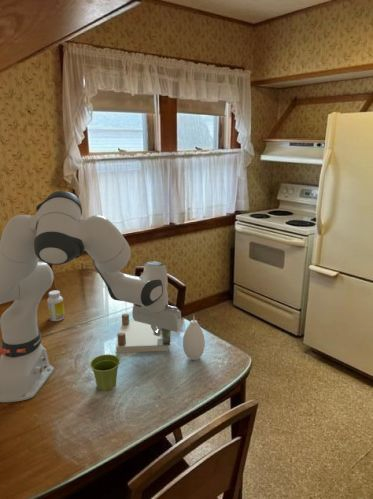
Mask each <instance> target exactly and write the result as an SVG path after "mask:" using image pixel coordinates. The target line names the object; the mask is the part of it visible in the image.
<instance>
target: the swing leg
mask: <svg viewBox="0 0 373 499" xmlns="http://www.w3.org/2000/svg"><path fill="white" fill-rule="evenodd" d="M161 332H162V334H163V342H164V343H169V342H170V343H171V330H167V329H164V328H162V330H161Z"/></svg>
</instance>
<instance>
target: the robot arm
mask: <svg viewBox="0 0 373 499" xmlns="http://www.w3.org/2000/svg"><path fill="white" fill-rule="evenodd" d="M35 209H36V213H35V214H33V215H29V214H17V215H15V216H12V218H10V219H9V220H8V221H7V222H6V225H5V227H4V229H3V231H2V233H1V236H0V305H1V304H2V305H3V304H6V303H9V302H12V301H13V303H12V304H11V305H10V306H9V307H8V308H7V309H5V311H4V312H3V313H2V314H1V316H0V329H1V330H0V331H1V336H2V339H1V343H0V344H1V345H0V403H14V402H16V403H17V402H20V401H21V402H22V401H25V400H29V399H31V398H34V397H35V396H36V395H37V394H38V392H39V391H40V389H41V388H42V387H43V386H44V384H45V383H46V382H47V380H48V379H49V378H50V377H51V375H52V374H53V373H54V371H55V367H54V365H53V366H52V365H51V364H50V360H49V356H48V352H47V348H45V347H44V345H42V335H41V333H40V332H41V331H40V330H39V327H38V309H39V305H40V302H41V300H42V298H43V296H44V295H45V294H46V292H47V291H48V290H49V289H50V288H51V287H52V285H53V282H54V272H53V269H52V268H51V267H50V265H52V266H60V265H64V264H67V263H70V262H72V261H73V260H75V259H79V258H80V257H81V256H82V255H83V253H84V252H86V253H87V254H88V255H89V256H90V257H91V258H92V263H93V265H94V268H95V270H96V271H97V273H98V275H99V276H100V277H101V279H102V280H103V282H104V283H105V286H106V288H107V291H108V294H109V297H110V298H111V299H112V300H114V301H118V302H119V301H120V302H125V303H129V304H132V305H133V307H132V319H133V321H137V322H141V323H145V324H149V325H151V328H152V330H153V331H154V335H155V336H160V335H161V330H162V328H164V329H167V330H170V332H172V331H173V332H178V331H180V329H182V327H183V326H182V325H183V322H182V311H181V310H180V309H179V308H178V307H177V306H172V305H169V293H168V290H167V289H168V271H167V267H166V264H164V263H163V262H160V261H152V260H151V261H147V262H145V263H144V267H143V272H142V273H141V275H139V276H137V275H133V274H128V273H125V272H121V270H122V269H123V268H125V266H126V265H127V264H128V262H129V261H130V258H131V255H132V253H131V247H130V245H129V242H128V241H127V239H126V238H125V237H124V235H123V234H122V232H121V231H120V230H119V229H118V227H116V225H114V224H113V222H112V221H110V219H108V218H106V217H105V216H103V215H99V214H95V215H91V216H88V217H87V218H82V215H83V208H82V203H81V201H80V199H79V197H78V196H77V195H75V193H72V192H69V191H65V190H58V191H54V192H52V193H50V194H49V195H48V196H47V197H46V198H45V199H44V200H43V201H42V202H40V203H39V204H38V205H36V208H35ZM39 260H40V261H39ZM156 327H157V328H156ZM157 329H159V330H157Z"/></svg>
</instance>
